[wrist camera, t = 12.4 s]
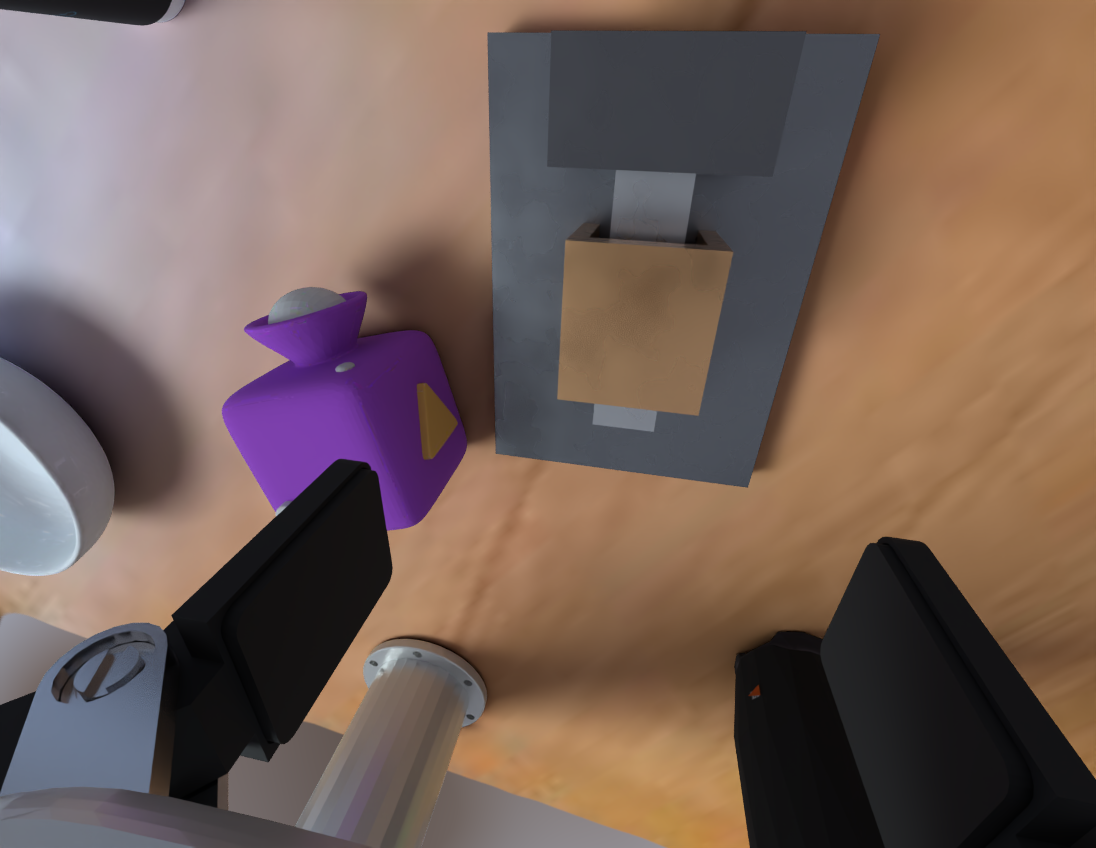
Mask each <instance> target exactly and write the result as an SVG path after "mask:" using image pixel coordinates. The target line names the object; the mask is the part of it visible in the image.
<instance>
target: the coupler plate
mask: <svg viewBox="0 0 1096 848" xmlns="http://www.w3.org/2000/svg"><path fill="white" fill-rule="evenodd" d="M806 32H807V31H551V33H488V79H489V130H490V182H491V233H492V284H493V336H494V387H495V438H496V454H503V455H510V456H518V457H525V458H532V459H540V460H547V461H555V462H562V463H570V464H577V465H584V466H592V467H599V468H607V469H614V470H621V471H629V472H636V473H644V474H651V475H658V476H666V477H673V478H681V479H688V480H696V481H703V482H710V483H718V484H725V485H733V486H740V487H747V488H748V485H749V482H750V478H751V475H752V472H753V468H754V465H755V461H756V458H757V455H758V451H759V448H760V444H761V441H762V437H763V434H764V431H765V427H766V424H767V420H768V417H769V413H770V410H771V407H772V403H773V400H774V396H775V393H776V389H777V386H778V383H779V379H780V376H781V372H782V369H783V365H784V362H785V359H786V355H787V352H788V348H789V345H790V341H791V338H792V335H793V331H794V328H795V324H796V321H797V317H798V314H799V311H800V307H801V304H802V300H803V297H804V293H805V290H806V287H807V283H808V280H809V276H810V273H811V269H812V266H813V263H814V259H815V256H816V252H817V249H818V245H819V242H820V239H821V235H822V232H823V228H824V225H825V221H826V218H827V215H828V211H829V208H830V204H831V201H832V197H833V194H834V191H835V187H836V184H837V180H838V177H839V174H840V170H841V167H842V163H843V160H844V156H845V153H846V150H847V146H848V143H849V139H850V136H851V132H852V129H853V126H854V122H855V119H856V115H857V112H858V108H859V105H860V102H861V98H862V95H863V91H864V88H865V84H866V81H867V78H868V74H869V71H870V67H871V64H872V60H873V57H874V54H875V50H876V47H877V43H878V40H879V36H880V34H806ZM583 223H594V224H600V228H599V238H606V239H621V240H636V241H651V242H666V243H681V244H696V242H697V236H698V230H706V231H716V232H717V233H718V234H719V236H720V237H721V238H722V239H723V240H724V241H725V243H726V244H727V245H728V246H729V247H730V248H731V250H732V251H733V256H732V261H731V265H730V270H729V275H728V279H727V284H726V289H725V293H724V298H723V303H722V308H721V312H720V317H719V322H718V326H717V331H716V336H715V340H714V345H713V350H712V355H711V359H710V364H709V369H708V373H707V378H706V383H705V387H704V392H703V397H702V401H701V406H700V411H699V416H696V415H688V414H679V413H670V412H662V411H653V410H645V409H636V408H627V407H619V406H610V405H602V404H593V403H585V402H576V401H567V400H559V399H557V394H558V375H559V355H560V336H561V316H562V297H563V277H564V258H565V240H566V239H567V238H568V237H569V236H570V235H572V234H573V233H574V232H575V231H576V230H577V229H578V228H579V227H580V226H581V225H582V224H583Z"/></svg>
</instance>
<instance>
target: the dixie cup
mask: <svg viewBox="0 0 1096 848" xmlns="http://www.w3.org/2000/svg"><path fill="white" fill-rule="evenodd" d="M184 2H185V0H0V9H4V10H13V11H21V12H30V13H38V14H47V15H55V16H64V17H72V18H81V19H89V20H98V21H106V22H115V23H123V24H132V25H149V24H153V23H155V22H166V21H169V20H171V19H173V18H174V17H175V16H176V15H177V14H178V13H179V12H180V10H181V9H182V7H183V5H184Z"/></svg>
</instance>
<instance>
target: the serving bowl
mask: <svg viewBox="0 0 1096 848" xmlns="http://www.w3.org/2000/svg"><path fill="white" fill-rule="evenodd" d="M114 497H115V489H114V480H113V475H112V471H111V468H110V465H109V462H108V459H107V457H106V455H105V453H104V451H103V449H102V447H101V445H100V444H99V442H98V440H97V439H96V437H95V436H94V434H93V433H92V431H91V430H90V428H89V427H88V426H87V424H86V423H85V422H84V421H83V420H82V418H81V417H80V416H79V415H78V414H77V413H76V412H75V411H74V410H73V408H72V407H71V406H70V405H69V404H67V403H66V402H65V401H64V400H63V399H62V398H61V397H60V396H59V395H58V394H57V393H55V392H54V391H53V390H52V389H51V388H49V387H48V386H47V385H45V384H44V383H43V382H41V381H40V380H39V379H37V378H36V377H34V376H33V375H31V374H30V373H28V372H26V371H25V370H23V369H22V368H20V367H18V366H16V365H14V364H13V363H11V362H9V361H7V360H5V359H3V358H1V357H0V570H3V571H7V572H11V573H15V574H22V575H31V576H44V575H52V574H56V573H59V572H62V571H64V570H66V569H68V568H69V567H71V566H72V565H73V564H74V563H76V562H77V561H78V560H79V559H80V558H81V557H82V556H83V555H84V554H85V553H86V552H87V551H88V550H89V549H90V548H91V547H92V546H93V545H94V544H95V543H96V541H97V540H98V539H99V538H100V536H101V535H102V533H103V532H104V530H105V528H106V526H107V524H108V522H109V520H110V517H111V514H112V510H113V505H114Z"/></svg>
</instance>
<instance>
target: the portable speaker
mask: <svg viewBox="0 0 1096 848" xmlns="http://www.w3.org/2000/svg"><path fill="white" fill-rule="evenodd" d="M822 640H823V639H820V638H817V637H815V636H812V635H809V634H806V633H803V632H777V634H776V635H775V636H774V638H773V639H772V640H771V641H770V642H768V643H766V644H764V645H762V646H760V647H758V648H756V649H753V650H752V651H750V652H748V653H747V654H745V653H739V654H737V656H736V661H735V666H734V668H735V674H736V684H735V719H734V740H735V747H736V754H737V761H738V768H739V775H740V782H741V789H742V796H743V803H744V810H745V817H746V824H747V831H748V838H749V845H750V848H885V846H884V843H883V840H882V837H881V834H880V831H879V828H878V825H877V823H876V820H875V817H874V814H873V811H872V808H871V805H870V802H869V799H868V796H867V793H866V790H865V787H864V785H863V782H862V779H861V776H860V773H859V770H858V767H857V764H856V761H855V758H854V755H853V752H852V749H851V746H850V744H849V741H848V738H847V735H846V732H845V729H844V726H843V723H842V720H841V717H840V714H839V711H838V708H837V705H836V703H835V700H834V697H833V694H832V691H831V688H830V685H829V682H828V679H827V676H826V673H825V670H824V667H823V665H822V661H821V654H820V648H821V643H822Z"/></svg>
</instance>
